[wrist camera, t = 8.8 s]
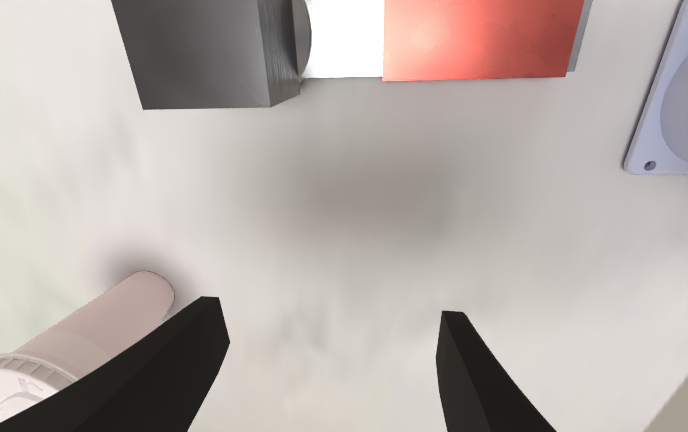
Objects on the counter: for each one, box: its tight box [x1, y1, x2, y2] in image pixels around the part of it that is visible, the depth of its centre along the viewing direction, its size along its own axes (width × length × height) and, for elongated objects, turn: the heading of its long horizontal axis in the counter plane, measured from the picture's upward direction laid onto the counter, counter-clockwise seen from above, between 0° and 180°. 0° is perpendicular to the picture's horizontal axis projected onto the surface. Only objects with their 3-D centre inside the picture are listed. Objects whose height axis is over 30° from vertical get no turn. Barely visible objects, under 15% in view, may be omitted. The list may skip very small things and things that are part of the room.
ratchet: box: [292, 0, 593, 85], centre depth 14 cm, size 18×6×4 cm, turn 92°
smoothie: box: [0, 271, 174, 422], centre depth 19 cm, size 6×6×14 cm
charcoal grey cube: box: [111, 0, 300, 110], centre depth 13 cm, size 5×5×4 cm
